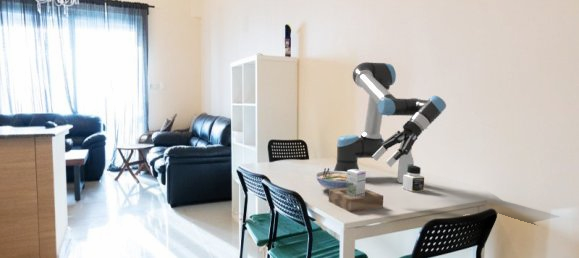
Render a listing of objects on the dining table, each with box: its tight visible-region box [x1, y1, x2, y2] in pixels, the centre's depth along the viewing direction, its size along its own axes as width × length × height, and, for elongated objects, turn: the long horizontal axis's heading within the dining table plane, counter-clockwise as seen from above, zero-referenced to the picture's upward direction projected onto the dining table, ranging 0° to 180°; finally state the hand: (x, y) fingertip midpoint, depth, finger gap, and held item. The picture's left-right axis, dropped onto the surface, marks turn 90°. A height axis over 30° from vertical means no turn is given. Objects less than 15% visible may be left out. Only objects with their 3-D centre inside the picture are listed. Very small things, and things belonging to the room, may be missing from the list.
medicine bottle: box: [402, 164, 425, 193], centre depth 177 cm, size 7×7×12 cm
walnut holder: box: [328, 188, 384, 213], centre depth 150 cm, size 16×16×5 cm
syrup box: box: [346, 169, 367, 197], centre depth 150 cm, size 6×6×14 cm
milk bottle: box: [396, 148, 415, 185], centre depth 191 cm, size 8×8×20 cm
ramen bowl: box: [314, 167, 347, 191], centre depth 172 cm, size 25×23×8 cm
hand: (380, 161), depth 151 cm, fingers open, 13 cm apart
